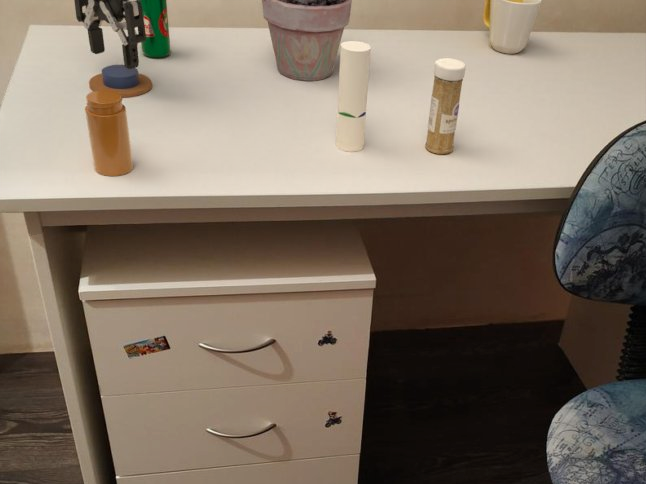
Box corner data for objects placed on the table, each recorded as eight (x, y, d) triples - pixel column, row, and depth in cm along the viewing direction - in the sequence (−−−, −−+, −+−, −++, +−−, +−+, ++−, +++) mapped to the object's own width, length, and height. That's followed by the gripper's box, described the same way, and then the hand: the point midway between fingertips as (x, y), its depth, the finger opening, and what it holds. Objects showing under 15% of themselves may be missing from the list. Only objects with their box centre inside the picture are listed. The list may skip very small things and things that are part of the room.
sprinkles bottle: (450, 157, 125) (463, 70, 116) (421, 152, 125) (432, 64, 116) (455, 145, 128) (468, 59, 119) (427, 140, 129) (438, 54, 120)
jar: (110, 179, 110) (99, 107, 103) (86, 166, 112) (74, 95, 105) (141, 168, 113) (132, 97, 106) (117, 155, 115) (107, 85, 108)
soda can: (136, 51, 146) (128, -20, 138) (161, 47, 149) (155, -23, 141) (151, 60, 143) (144, -12, 135) (176, 56, 146) (170, -15, 138)
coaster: (115, 102, 129) (114, 98, 128) (76, 83, 133) (76, 80, 132) (164, 87, 135) (164, 84, 135) (126, 70, 139) (126, 66, 139)
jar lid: (126, 73, 137) (125, 62, 135) (146, 84, 134) (145, 72, 133) (96, 80, 133) (94, 69, 132) (116, 91, 130) (114, 80, 129)
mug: (539, 57, 164) (551, 2, 157) (494, 58, 161) (504, 3, 154) (510, 34, 173) (520, -18, 167) (467, 35, 170) (475, -18, 163)
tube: (332, 140, 125) (336, 41, 116) (357, 138, 127) (364, 40, 117) (341, 152, 123) (346, 52, 113) (367, 150, 124) (375, 50, 114)
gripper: (152, -43, 119) (162, 68, 130) (92, -64, 125) (106, 43, 136) (110, -36, 115) (123, 78, 125) (50, -59, 120) (67, 52, 131)
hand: (114, 60), depth 130 cm, fingers open, 8 cm apart
